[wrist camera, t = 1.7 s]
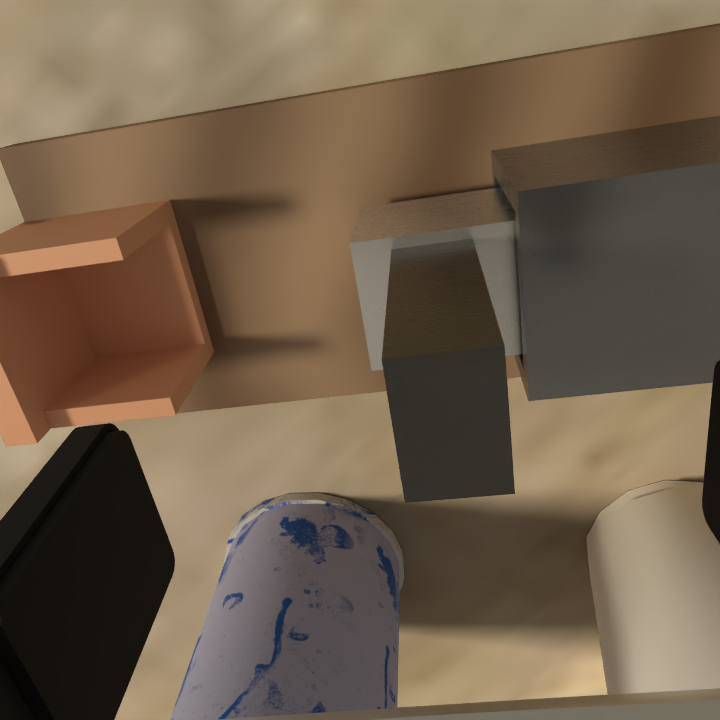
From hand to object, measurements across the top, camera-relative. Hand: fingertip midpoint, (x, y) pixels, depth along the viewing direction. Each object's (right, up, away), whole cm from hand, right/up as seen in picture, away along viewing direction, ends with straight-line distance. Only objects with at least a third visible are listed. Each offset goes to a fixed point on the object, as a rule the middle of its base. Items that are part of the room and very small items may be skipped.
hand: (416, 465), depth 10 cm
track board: (+2, +6, +11) cm, 13 cm away
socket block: (-9, +4, +12) cm, 15 cm away
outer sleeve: (+9, +6, +9) cm, 14 cm away
